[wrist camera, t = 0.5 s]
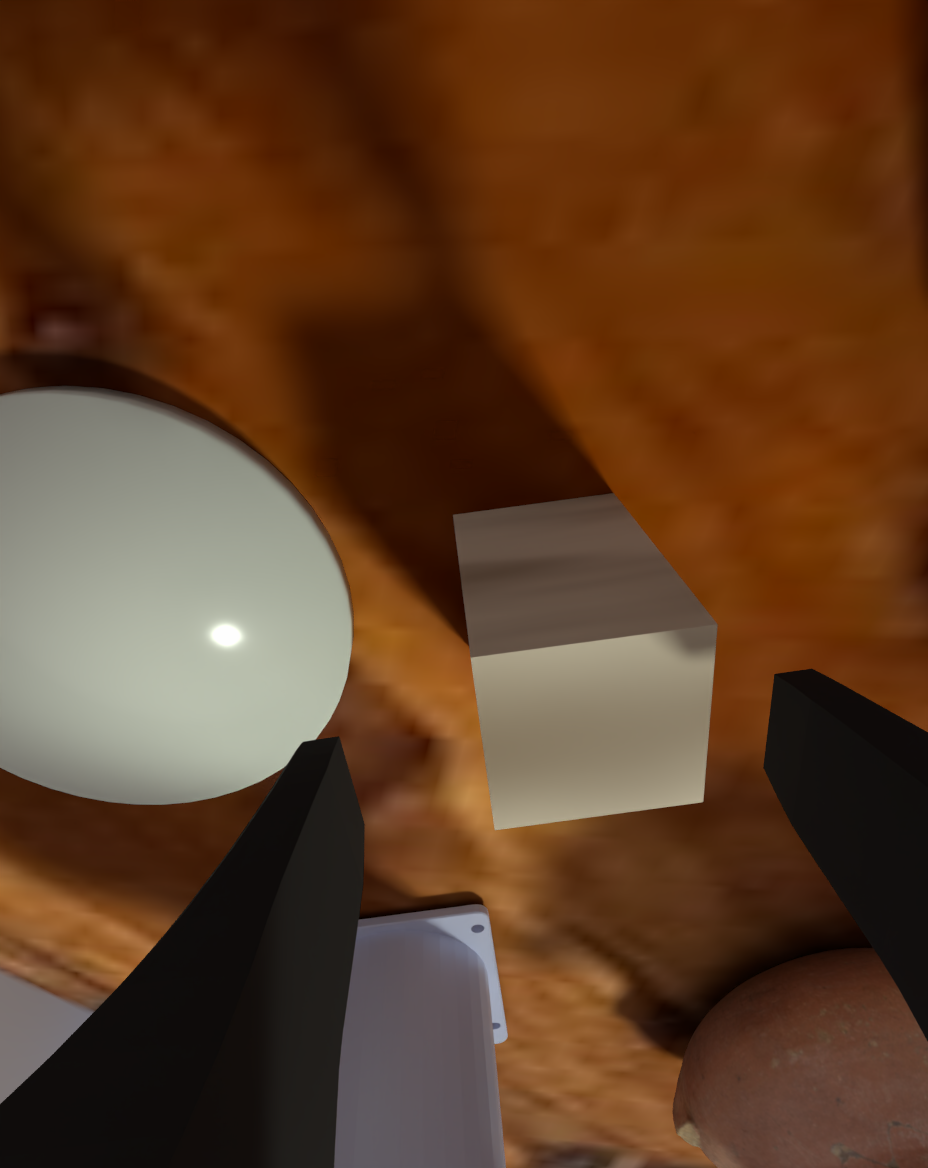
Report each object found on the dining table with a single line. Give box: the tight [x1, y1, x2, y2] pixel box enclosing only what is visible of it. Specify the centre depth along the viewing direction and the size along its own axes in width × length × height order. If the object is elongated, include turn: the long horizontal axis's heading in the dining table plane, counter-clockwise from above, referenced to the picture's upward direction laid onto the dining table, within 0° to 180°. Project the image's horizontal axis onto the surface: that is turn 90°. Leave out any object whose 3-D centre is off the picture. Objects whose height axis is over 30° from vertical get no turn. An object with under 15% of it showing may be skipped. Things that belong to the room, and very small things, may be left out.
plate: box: [0, 386, 354, 805], centre depth 18 cm, size 13×13×1 cm
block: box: [453, 493, 717, 830], centre depth 16 cm, size 4×4×7 cm
